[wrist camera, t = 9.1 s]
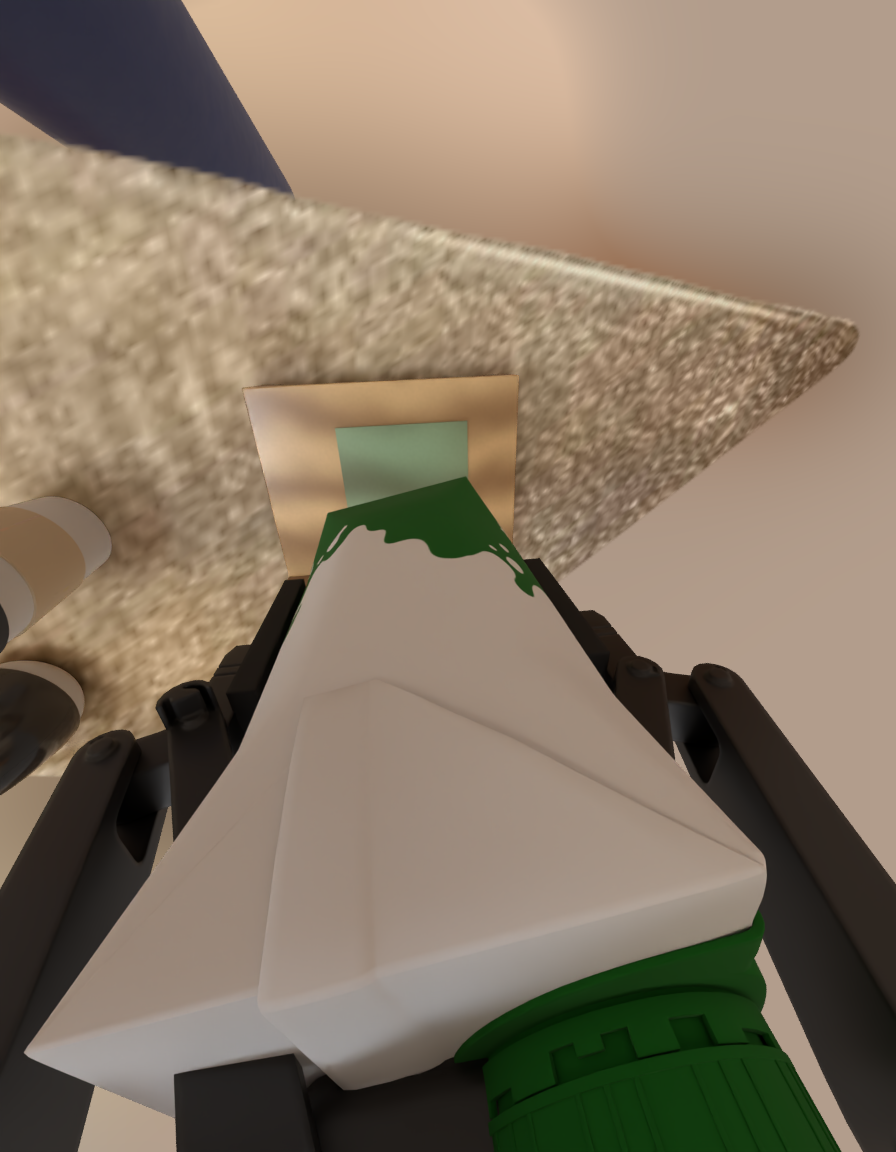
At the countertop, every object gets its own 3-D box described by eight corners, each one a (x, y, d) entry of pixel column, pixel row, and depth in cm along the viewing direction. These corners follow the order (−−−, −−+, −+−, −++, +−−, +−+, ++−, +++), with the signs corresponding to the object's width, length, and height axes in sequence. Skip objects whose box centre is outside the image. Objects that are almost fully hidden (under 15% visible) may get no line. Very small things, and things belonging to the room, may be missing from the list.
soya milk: (508, 601, 24) (848, 1302, 6) (359, 641, 24) (249, 1451, 6) (480, 451, 19) (1313, 1276, 2) (298, 499, 20) (-633, 1757, 2)
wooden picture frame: (258, 385, 32) (225, 390, 26) (506, 374, 34) (531, 375, 27) (300, 566, 39) (282, 604, 33) (502, 550, 41) (520, 582, 35)
